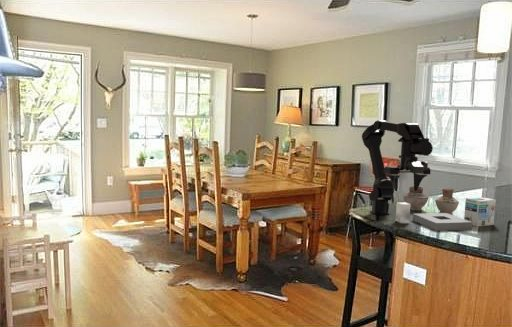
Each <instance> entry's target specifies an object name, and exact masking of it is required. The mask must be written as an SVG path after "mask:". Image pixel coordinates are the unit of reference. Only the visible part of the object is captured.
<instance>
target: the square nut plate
mask: <svg viewBox="0 0 512 327" xmlns="http://www.w3.org/2000/svg"><path fill="white" fill-rule="evenodd" d="M412 222H415V223H417V222H418V223H417V224H419V223H420V225H422V226H424V227H426V226H427V228H428V227H429V229H431V230H432V231H433V230H434V231H464V230H465V231H470V230H473V225H472V222H470V221H468V220H465V219H464V218H462V217H458V216H456V215H454V214H453V215H451V214H448V213H439V212H436V213H435V212H433V213H432V212H431V213H428V212H427V213H413V214H412Z"/></svg>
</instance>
